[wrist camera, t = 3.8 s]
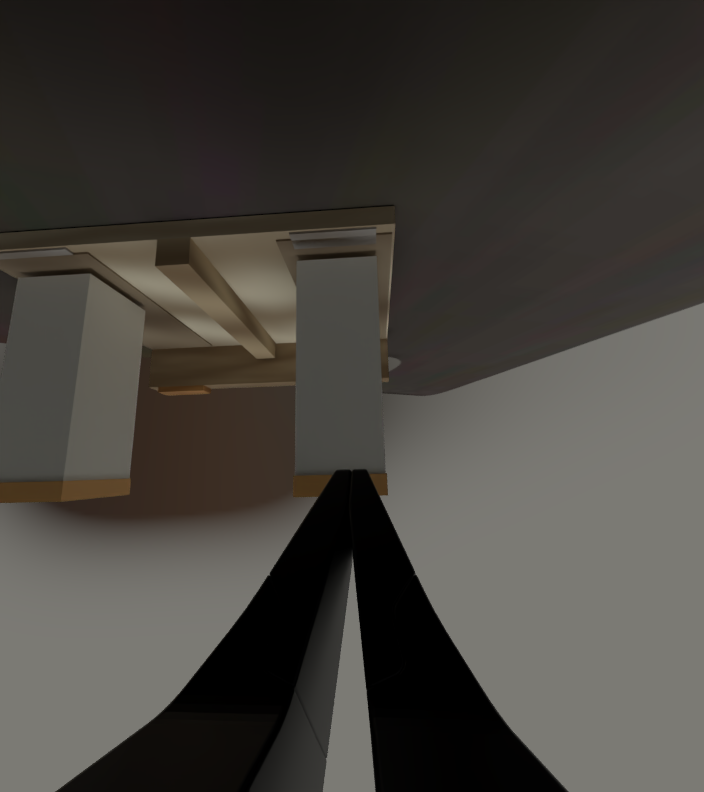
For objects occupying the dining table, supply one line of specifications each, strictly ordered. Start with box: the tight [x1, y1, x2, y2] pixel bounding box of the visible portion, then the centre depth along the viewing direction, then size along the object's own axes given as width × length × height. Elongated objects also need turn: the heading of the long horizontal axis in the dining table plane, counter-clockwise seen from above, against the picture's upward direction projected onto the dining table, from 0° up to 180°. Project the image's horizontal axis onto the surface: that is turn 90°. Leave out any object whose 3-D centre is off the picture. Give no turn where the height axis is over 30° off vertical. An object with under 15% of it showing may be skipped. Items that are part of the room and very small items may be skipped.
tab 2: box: [293, 256, 388, 497], centre depth 17 cm, size 4×4×10 cm
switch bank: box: [0, 206, 395, 395], centre depth 21 cm, size 14×18×4 cm
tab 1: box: [0, 274, 145, 503], centre depth 18 cm, size 4×4×10 cm
